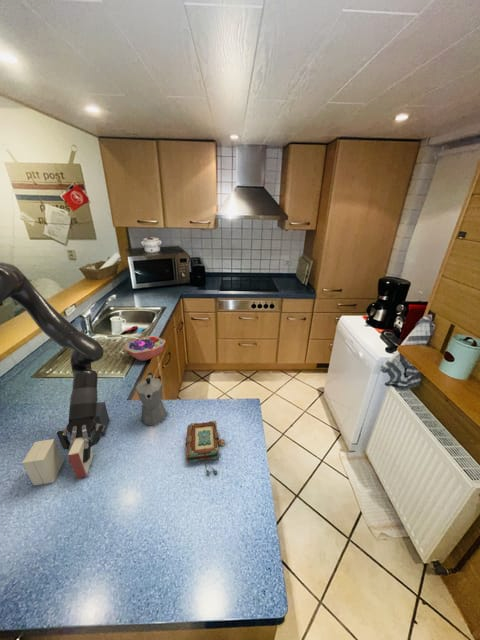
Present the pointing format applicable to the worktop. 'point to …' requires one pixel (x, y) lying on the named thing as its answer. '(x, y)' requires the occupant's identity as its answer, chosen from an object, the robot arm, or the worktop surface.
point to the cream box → (43, 462)
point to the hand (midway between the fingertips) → (79, 462)
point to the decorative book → (202, 442)
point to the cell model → (145, 347)
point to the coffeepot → (151, 400)
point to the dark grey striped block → (101, 417)
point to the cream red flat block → (79, 458)
